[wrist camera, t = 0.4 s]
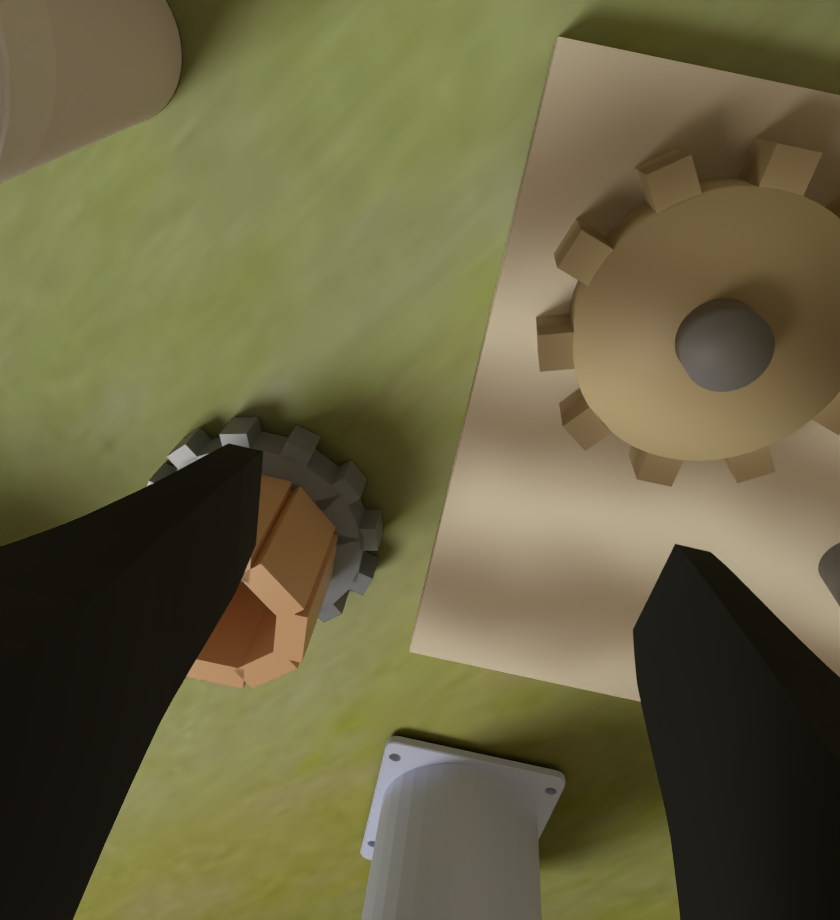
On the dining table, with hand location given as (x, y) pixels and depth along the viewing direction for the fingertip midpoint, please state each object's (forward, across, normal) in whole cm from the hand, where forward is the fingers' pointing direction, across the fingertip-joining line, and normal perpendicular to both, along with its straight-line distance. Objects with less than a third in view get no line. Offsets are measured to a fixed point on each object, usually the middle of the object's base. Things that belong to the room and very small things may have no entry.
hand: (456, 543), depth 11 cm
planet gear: (+10, +6, +8) cm, 14 cm away
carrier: (+10, -10, +2) cm, 14 cm away
